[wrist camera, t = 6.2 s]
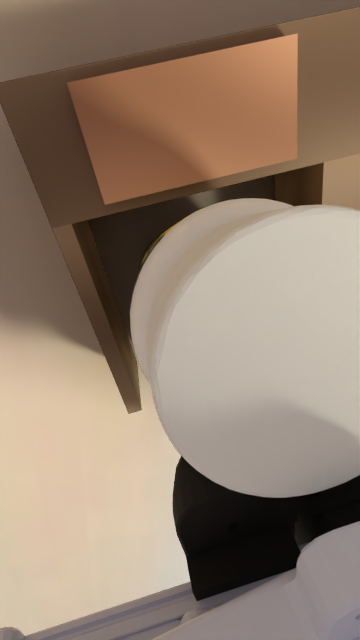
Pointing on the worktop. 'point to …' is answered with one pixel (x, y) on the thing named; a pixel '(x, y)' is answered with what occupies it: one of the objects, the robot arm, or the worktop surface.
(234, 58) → the tag dock
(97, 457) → the worktop surface
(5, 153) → the worktop surface
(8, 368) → the worktop surface
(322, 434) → the supplement bottle
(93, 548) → the worktop surface
